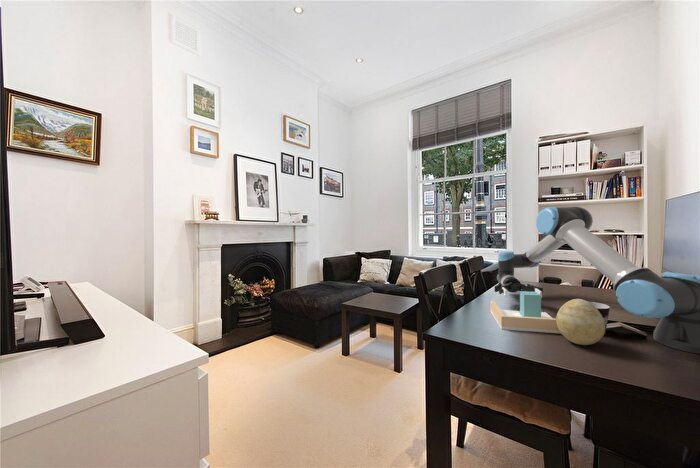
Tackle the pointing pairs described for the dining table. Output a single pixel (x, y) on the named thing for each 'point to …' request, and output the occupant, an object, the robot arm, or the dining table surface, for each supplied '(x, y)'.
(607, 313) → the coffee mug
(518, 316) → the tray
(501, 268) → the robot arm
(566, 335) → the fossilized egg
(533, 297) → the teal block
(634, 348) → the dining table surface
